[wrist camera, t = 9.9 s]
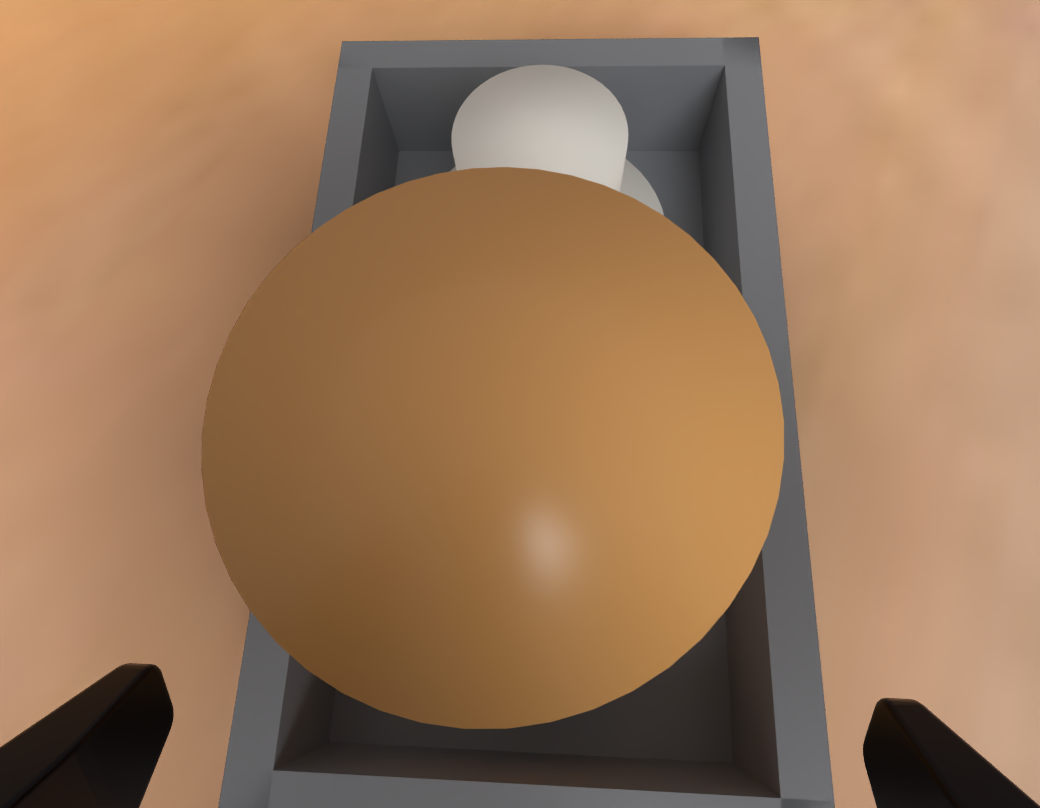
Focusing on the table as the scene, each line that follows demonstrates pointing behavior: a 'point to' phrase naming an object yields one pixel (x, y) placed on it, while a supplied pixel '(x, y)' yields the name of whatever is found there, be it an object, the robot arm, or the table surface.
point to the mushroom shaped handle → (492, 448)
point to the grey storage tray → (785, 553)
